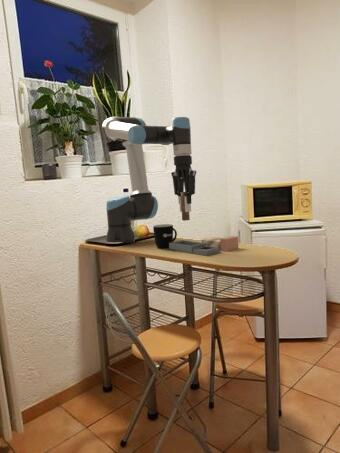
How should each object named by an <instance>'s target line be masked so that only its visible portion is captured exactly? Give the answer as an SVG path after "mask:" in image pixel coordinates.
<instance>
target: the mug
mask: <svg viewBox="0 0 340 453" xmlns="http://www.w3.org/2000/svg"><path fill="white" fill-rule="evenodd" d="M152 227H153V228H152V229H153V230H152V231H153V237H154V243H155V246H156V248H157V249H160V250H161V249H162V250H163V249H169V243H171V242H175V241H176V239H177V237H178V232H177V230H176V228H174V225H173V224H170V223H169V224H168V223H166V224H155V225H153V226H152Z"/></svg>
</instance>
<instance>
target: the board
mask: <svg viewBox="0 0 340 453" xmlns="http://www.w3.org/2000/svg"><path fill="white" fill-rule="evenodd" d="M221 238H222V237H215V236H214V237H209V238H204V239H201V243H205V246H212V247H219V248H220V251H221V245H220V239H221Z"/></svg>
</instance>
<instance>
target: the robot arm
mask: <svg viewBox="0 0 340 453" xmlns="http://www.w3.org/2000/svg"><path fill="white" fill-rule="evenodd" d="M101 131H102V134H103V135H104V137H105V138H108V139H110V140H114V141H121V143H122V146H123V147H125V150H126V158H127V165H128V170H129V171H128V172H129V179H130V185H131V193H130V195H123V196H116V197H112V198H109V199H107V201H106V207H105V209H106V216H107V227H108V228H107V232H106V235H105V236H106V237H105V242H106V241H107V242H126V243H131V244H134V243H136V242H135V239H136V236H135V234H134V233H135V232H134V230H133V228H132V222H134V221H142V220H143V221H144V220H149V219H153V218H154V217H156V215H157V213H158V210H159V209H158V208H159V202H158V199H157V198H156V196H154V195H153V192H152V191H151V190H149V186H148V185H149V184H148V178H147V171H146V170H147V169H146V165H145V158H144V150H143V145H162V146H169V145H171V144H172V149H173V156H174V157H173V165H174V166H175V169H174V171H173V172H171V177H172V184H173V192H174V195H175V196H177V197H178V204H179V213H182V207H181V192H185V193H186V195H185V196H184V197H185V212H189V213H190V212H192V196H193V195H195V194H196V175H197V170H193V168H192V166H191V165H192V164H193V157H192V138H191V136H192V135H191V123H190V118H189V117H187V116H176V117H173V118H172V120H171V125H168V126H167V125H166V126H165V125H164V126H162V125H161V126H159V125H147V124H146V122H145V120H143V119H142V118H140V117H136V116H132V117H129V116H111V117H108V118H106V119H105V120H104V121H103V123H102V125H101ZM184 190H185V191H184Z"/></svg>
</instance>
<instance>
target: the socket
mask: <svg viewBox="0 0 340 453" xmlns="http://www.w3.org/2000/svg"><path fill="white" fill-rule="evenodd" d="M192 250H193V253H192V255H193V254H195V255H200V256H206V257H208V256H213V255H216V254H219V253H221V250H220V248H219V247H212V246H202V247H198V248H193V249H192Z"/></svg>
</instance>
